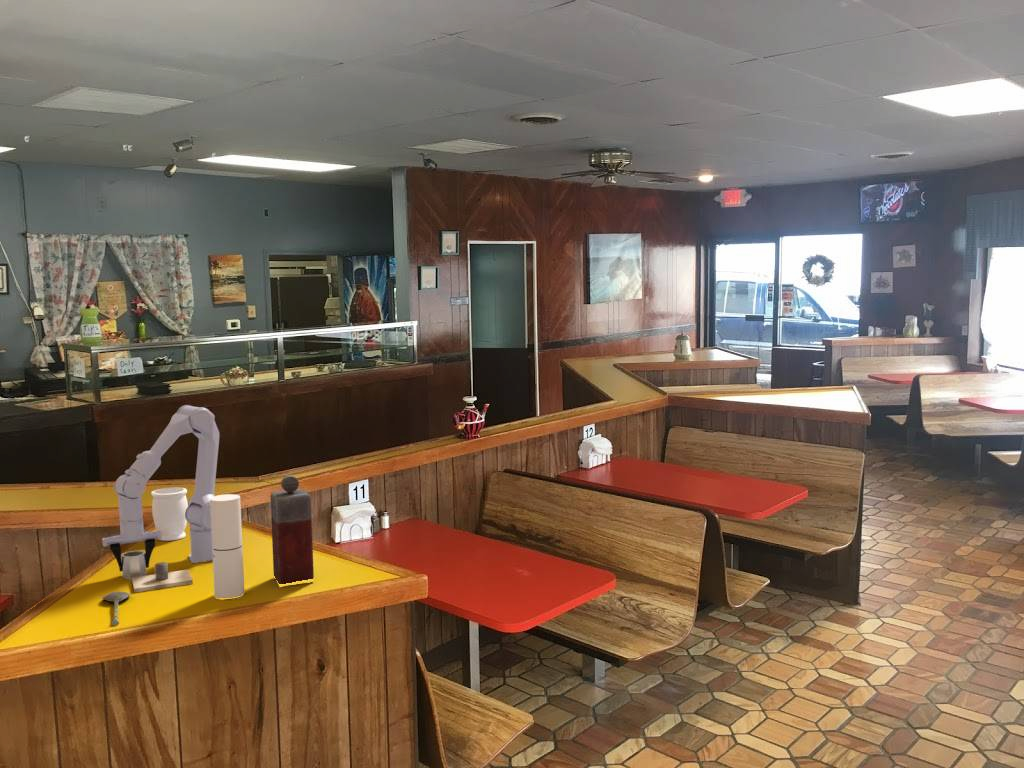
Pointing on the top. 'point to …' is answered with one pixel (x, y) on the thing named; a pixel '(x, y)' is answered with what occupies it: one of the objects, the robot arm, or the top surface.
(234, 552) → the cylindrical container
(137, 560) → the collar
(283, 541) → the ball-stopper bottle
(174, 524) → the jar
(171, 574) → the board
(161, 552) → the top surface
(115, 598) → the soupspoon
